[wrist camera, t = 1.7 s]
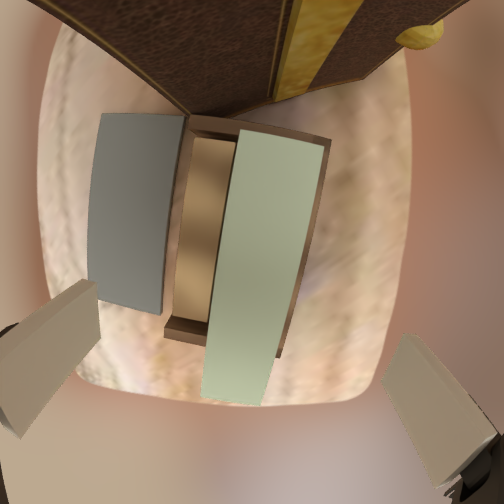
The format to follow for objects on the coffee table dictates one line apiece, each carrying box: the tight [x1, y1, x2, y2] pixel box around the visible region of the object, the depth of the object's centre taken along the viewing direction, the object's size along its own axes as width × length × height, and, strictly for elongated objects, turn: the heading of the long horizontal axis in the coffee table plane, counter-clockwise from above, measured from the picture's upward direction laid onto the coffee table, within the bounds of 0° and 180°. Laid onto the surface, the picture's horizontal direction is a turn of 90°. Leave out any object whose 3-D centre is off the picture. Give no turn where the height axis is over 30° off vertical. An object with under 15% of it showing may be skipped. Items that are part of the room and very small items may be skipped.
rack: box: [164, 114, 332, 358], centre depth 26 cm, size 20×12×6 cm, turn 170°
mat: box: [87, 113, 186, 315], centre depth 28 cm, size 22×10×1 cm, turn 170°
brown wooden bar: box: [172, 137, 237, 322], centre depth 26 cm, size 17×4×5 cm, turn 170°
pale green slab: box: [200, 129, 324, 406], centre depth 21 cm, size 16×4×15 cm, turn 170°
